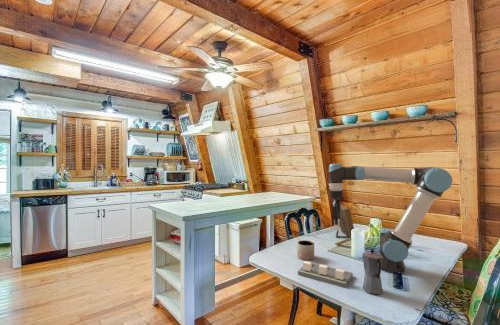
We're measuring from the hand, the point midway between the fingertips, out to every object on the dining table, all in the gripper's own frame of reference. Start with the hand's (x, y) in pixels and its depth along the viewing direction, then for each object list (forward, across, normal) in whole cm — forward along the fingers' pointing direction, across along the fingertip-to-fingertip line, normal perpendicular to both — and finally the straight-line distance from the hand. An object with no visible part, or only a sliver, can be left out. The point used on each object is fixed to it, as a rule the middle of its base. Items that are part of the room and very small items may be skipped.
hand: (337, 229), depth 153 cm
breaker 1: (+20, +16, -13) cm, 29 cm away
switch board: (+23, +13, -4) cm, 26 cm away
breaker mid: (+20, +16, -4) cm, 26 cm away
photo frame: (+23, -69, -13) cm, 74 cm away
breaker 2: (+21, +17, +5) cm, 27 cm away
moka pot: (+24, +17, +21) cm, 36 cm away
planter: (+23, -7, -22) cm, 32 cm away
